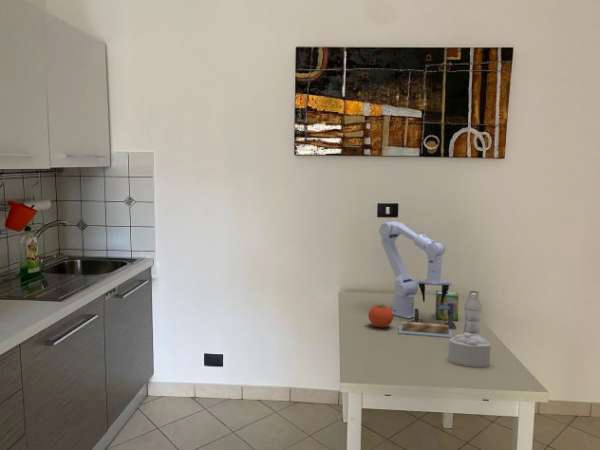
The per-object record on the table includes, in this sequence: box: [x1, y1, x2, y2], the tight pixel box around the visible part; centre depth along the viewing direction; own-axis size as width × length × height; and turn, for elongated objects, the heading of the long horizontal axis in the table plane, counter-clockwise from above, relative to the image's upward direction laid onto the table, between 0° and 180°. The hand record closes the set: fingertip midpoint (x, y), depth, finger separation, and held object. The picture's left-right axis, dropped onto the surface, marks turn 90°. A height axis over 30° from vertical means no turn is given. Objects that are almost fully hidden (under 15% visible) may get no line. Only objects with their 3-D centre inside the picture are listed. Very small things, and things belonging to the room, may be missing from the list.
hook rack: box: [410, 308, 457, 330], centre depth 204 cm, size 18×6×6 cm, turn 78°
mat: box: [397, 325, 454, 339], centre depth 195 cm, size 21×9×1 cm, turn 78°
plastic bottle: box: [462, 290, 483, 336], centre depth 182 cm, size 6×7×20 cm
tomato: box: [368, 304, 394, 328], centre depth 201 cm, size 10×10×10 cm
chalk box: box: [434, 290, 459, 322], centre depth 216 cm, size 9×9×15 cm
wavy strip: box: [402, 321, 450, 334], centre depth 195 cm, size 18×3×3 cm, turn 78°
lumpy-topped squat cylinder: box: [447, 332, 491, 368], centre depth 165 cm, size 10×13×9 cm
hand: (432, 301), depth 207 cm, fingers open, 7 cm apart
